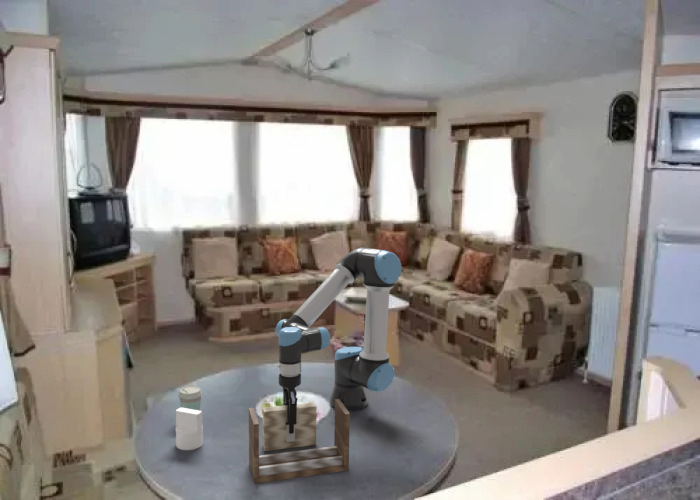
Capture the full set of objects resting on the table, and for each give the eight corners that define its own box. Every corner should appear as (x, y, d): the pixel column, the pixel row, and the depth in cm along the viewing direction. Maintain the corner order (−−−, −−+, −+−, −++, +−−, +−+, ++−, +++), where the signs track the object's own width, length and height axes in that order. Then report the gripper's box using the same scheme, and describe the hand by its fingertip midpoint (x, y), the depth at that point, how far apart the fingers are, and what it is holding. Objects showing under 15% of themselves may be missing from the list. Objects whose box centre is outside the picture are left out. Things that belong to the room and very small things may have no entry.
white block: (208, 440, 203) (207, 407, 202) (193, 452, 195) (192, 418, 193) (186, 436, 206) (185, 403, 204) (170, 447, 198) (169, 414, 196)
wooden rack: (338, 452, 196) (339, 398, 194) (348, 470, 185) (349, 413, 182) (249, 464, 188) (248, 408, 185) (254, 483, 176) (253, 424, 174)
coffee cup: (181, 415, 223) (180, 385, 221) (204, 415, 223) (203, 385, 222) (176, 425, 214) (176, 394, 212) (200, 424, 215) (199, 394, 213)
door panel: (313, 440, 205) (314, 402, 203) (316, 444, 202) (316, 406, 200) (262, 446, 200) (262, 407, 198) (264, 451, 196) (264, 411, 194)
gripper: (274, 365, 204) (274, 429, 207) (283, 383, 188) (283, 451, 191) (295, 364, 206) (295, 426, 209) (306, 381, 190) (305, 448, 193)
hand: (289, 438), depth 200 cm, fingers closed on door panel, 3 cm apart
